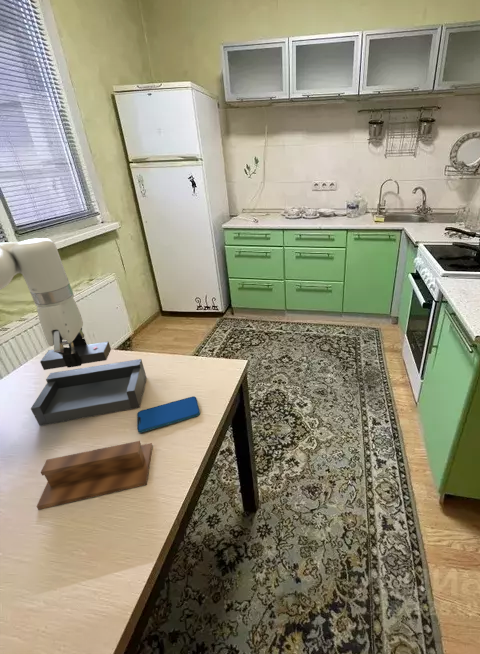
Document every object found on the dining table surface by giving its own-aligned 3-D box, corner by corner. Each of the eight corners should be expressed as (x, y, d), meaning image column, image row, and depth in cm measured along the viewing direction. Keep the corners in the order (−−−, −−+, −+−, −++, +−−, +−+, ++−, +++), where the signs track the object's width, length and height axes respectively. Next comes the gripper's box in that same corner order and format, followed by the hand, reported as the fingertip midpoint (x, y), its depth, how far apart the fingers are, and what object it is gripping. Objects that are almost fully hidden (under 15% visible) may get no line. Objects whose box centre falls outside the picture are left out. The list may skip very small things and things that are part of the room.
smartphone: (200, 413, 83) (137, 431, 78) (200, 416, 84) (138, 434, 78) (195, 395, 89) (137, 411, 84) (196, 398, 90) (137, 414, 85)
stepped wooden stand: (38, 509, 63) (26, 490, 60) (57, 465, 72) (48, 446, 69) (146, 484, 67) (139, 465, 64) (152, 445, 76) (147, 427, 73)
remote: (43, 370, 78) (39, 361, 77) (52, 358, 82) (48, 349, 81) (106, 360, 81) (103, 351, 80) (111, 349, 85) (108, 340, 84)
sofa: (39, 426, 82) (28, 405, 79) (58, 392, 93) (50, 372, 90) (139, 407, 87) (133, 387, 84) (146, 377, 98) (141, 358, 95)
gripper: (49, 282, 80) (73, 343, 88) (15, 313, 65) (48, 383, 73) (82, 278, 82) (103, 339, 90) (56, 308, 67) (84, 377, 75)
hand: (78, 358), depth 82 cm, fingers closed on remote, 5 cm apart
